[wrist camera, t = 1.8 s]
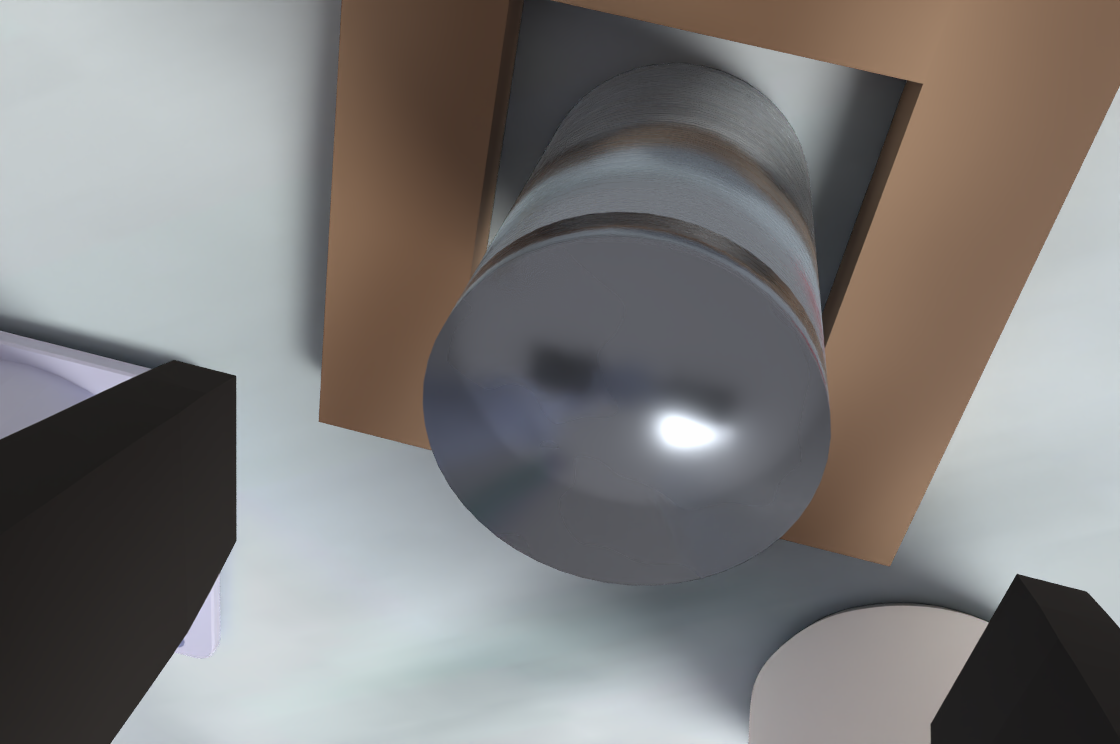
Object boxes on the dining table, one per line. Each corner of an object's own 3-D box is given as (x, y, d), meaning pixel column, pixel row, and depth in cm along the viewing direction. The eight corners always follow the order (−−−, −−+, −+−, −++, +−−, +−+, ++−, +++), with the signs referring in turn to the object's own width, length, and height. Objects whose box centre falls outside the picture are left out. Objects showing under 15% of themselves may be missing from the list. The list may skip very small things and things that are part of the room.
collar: (341, 388, 20) (318, 421, 19) (384, -245, 14) (354, -245, 13) (883, 525, 20) (889, 566, 19) (1161, -80, 14) (1192, -67, 13)
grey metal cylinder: (523, 283, 18) (406, 531, 12) (566, 35, 16) (446, 196, 10) (766, 343, 18) (762, 624, 12) (848, 98, 16) (893, 301, 10)
